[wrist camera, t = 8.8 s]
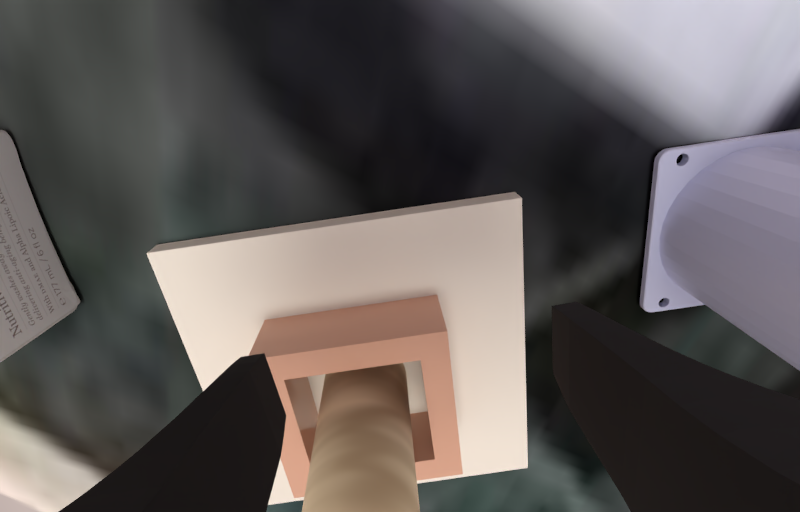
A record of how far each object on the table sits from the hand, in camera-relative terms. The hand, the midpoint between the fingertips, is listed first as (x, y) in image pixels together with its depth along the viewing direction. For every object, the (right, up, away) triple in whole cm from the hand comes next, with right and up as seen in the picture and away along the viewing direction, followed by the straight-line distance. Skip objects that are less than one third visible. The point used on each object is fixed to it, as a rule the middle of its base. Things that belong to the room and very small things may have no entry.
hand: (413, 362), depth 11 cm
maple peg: (-2, -3, +10) cm, 11 cm away
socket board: (-2, -3, +11) cm, 12 cm away
